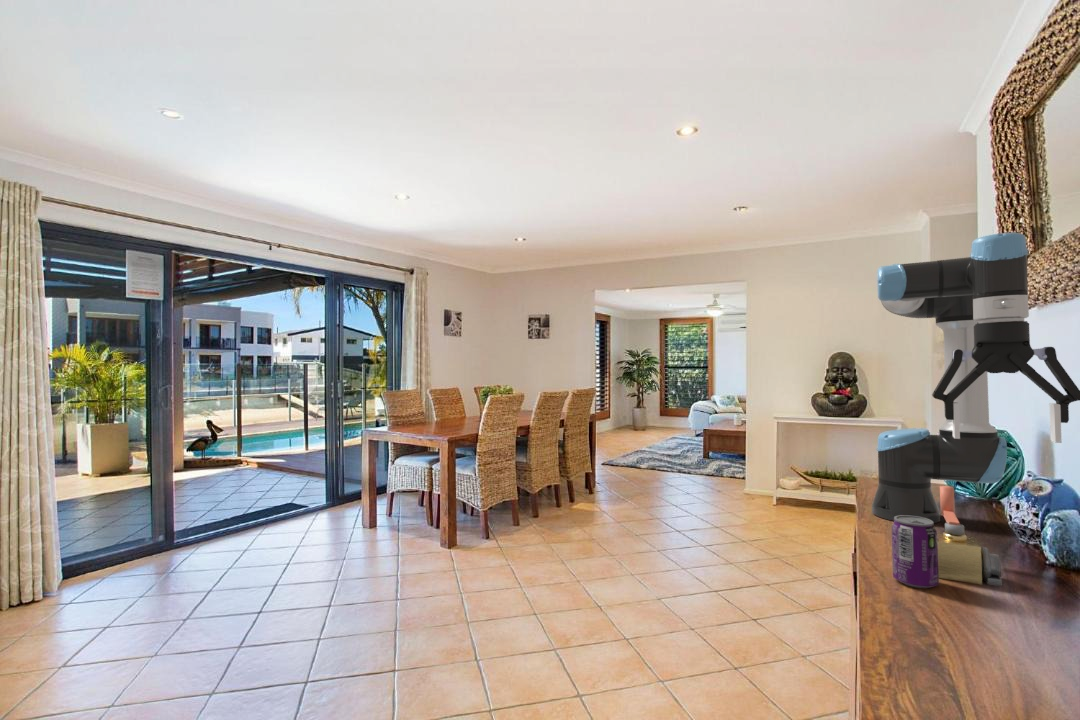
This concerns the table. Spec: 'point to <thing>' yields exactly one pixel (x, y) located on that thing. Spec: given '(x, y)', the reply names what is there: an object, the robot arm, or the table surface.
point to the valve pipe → (966, 560)
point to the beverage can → (915, 551)
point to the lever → (949, 511)
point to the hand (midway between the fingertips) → (1004, 439)
